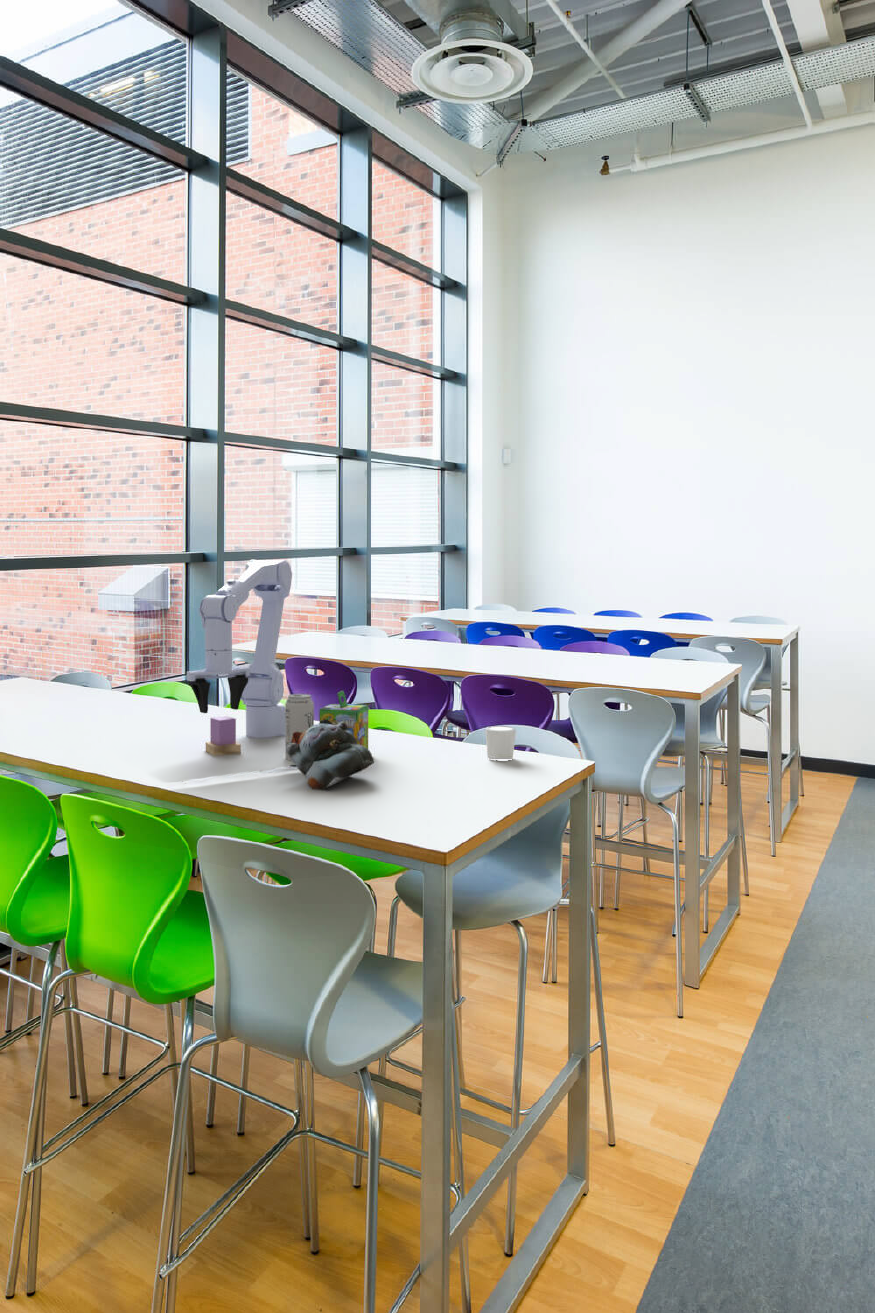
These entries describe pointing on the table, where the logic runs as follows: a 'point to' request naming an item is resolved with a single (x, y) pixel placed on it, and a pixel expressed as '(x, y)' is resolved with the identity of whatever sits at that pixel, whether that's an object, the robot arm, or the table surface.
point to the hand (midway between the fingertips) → (219, 710)
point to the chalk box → (348, 718)
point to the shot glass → (500, 742)
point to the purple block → (223, 730)
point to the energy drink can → (297, 717)
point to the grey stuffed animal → (327, 754)
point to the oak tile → (223, 749)
